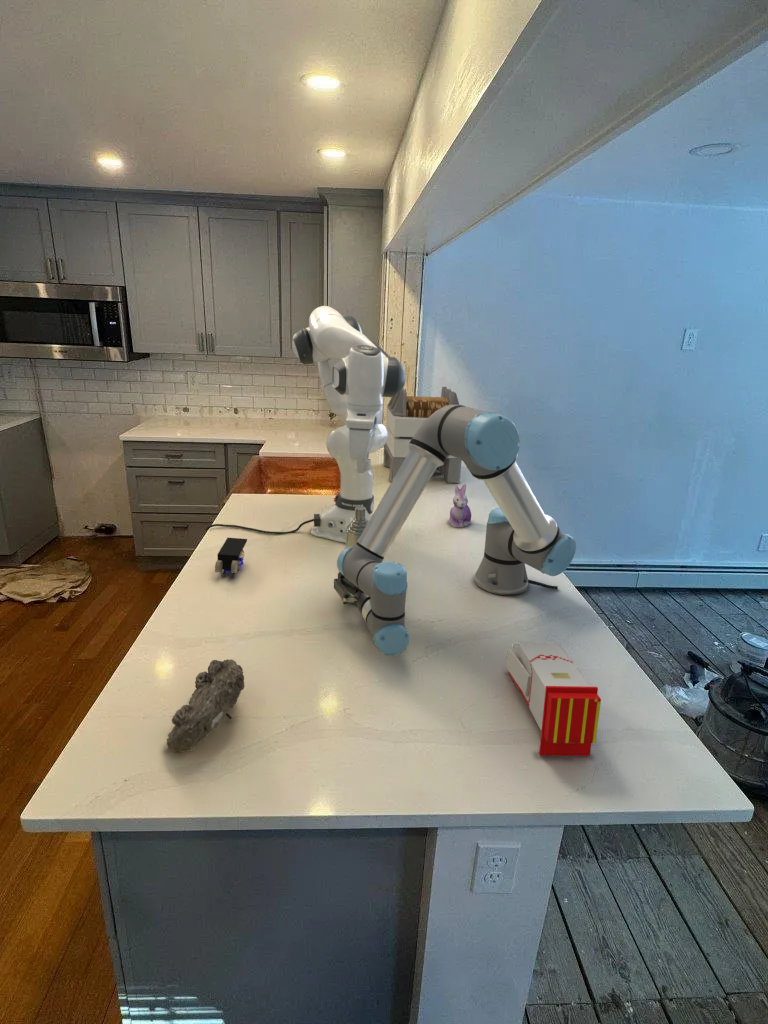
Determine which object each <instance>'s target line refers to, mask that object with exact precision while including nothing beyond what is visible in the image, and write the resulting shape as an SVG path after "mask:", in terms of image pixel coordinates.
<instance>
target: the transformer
mask: <svg viewBox="0 0 768 1024" xmlns="http://www.w3.org/2000/svg"><path fill="white" fill-rule="evenodd" d="M440 393H441V394H440V396H415V395H414V396H413V395H412V396H411V395H407V394H408V393H407V390H406V389H404V387H403V388H402V390H401V391H400V392H399V393H398V394H397V395H395V396H394V397H390V400H389V402H388V404H387V405H386V413H385V414H386V415H385V423H386V426H385V428H386V430H387V433H388V439H387V442H386V444H385V445H384V446H383V466H384V467H388V468H389V475H388V476H389V477H388V478H389V480H390V483H391V482H392V481H393V479H394V477H395V475H396V474H397V472H398V470H399V469H400V467H401V465H402V463H403V462H404V460H405V458H406V456H407V455H408V453H409V446H408V445H409V443H410V441H411V439H412V438H413V436H414V435H415V433H416V432H417V430H418V429H419V427H420V426H421V425H422V424H423V423H424V421H425V420H426V419H427V418H428V417H430V416H431V415H432V414H433V413H434V412H436V411H437V410H439V409H441V408H442V407H445V406H448V405H460V402H459V398H458V395H457V392H455V391H453V390H452V389H451V388H447V386H442V387H441V392H440ZM462 462H463V461H462V460H461V459H459V458H457V457H454V456H451V455H450V456H449V457H448V458H447V459H446V461H445V463H444V464H443V465H442V466H438V467H437V468H436V469H437V470H438V469H439V473H440V474H441V475H443V478H444V479H445V481H446V482H447V483H449V484H455V483H456V484H459V483H461V472H462Z"/></svg>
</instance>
